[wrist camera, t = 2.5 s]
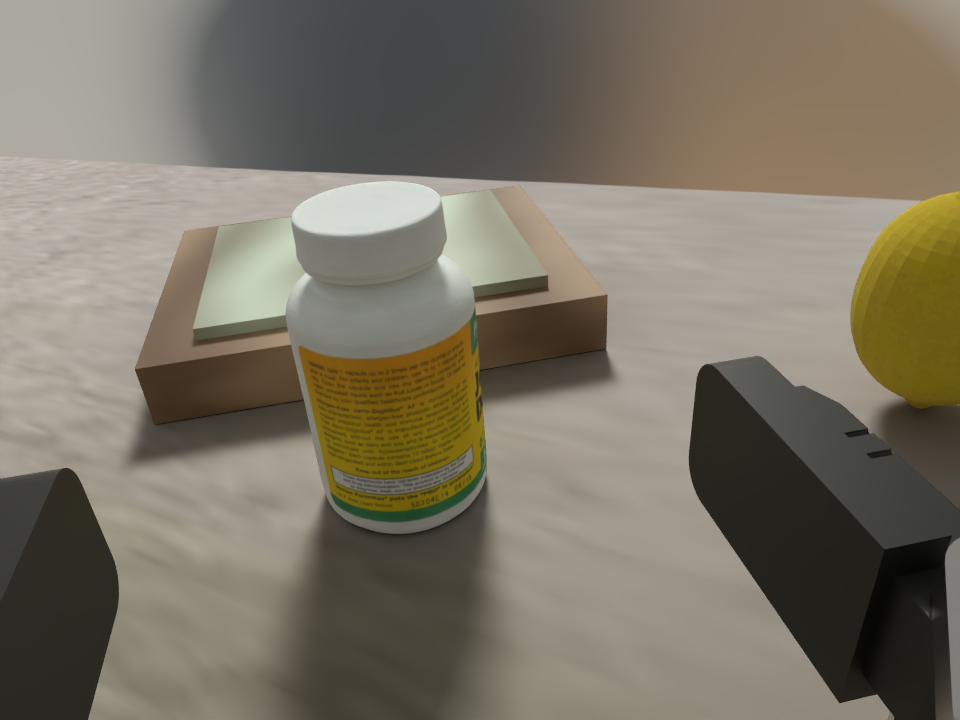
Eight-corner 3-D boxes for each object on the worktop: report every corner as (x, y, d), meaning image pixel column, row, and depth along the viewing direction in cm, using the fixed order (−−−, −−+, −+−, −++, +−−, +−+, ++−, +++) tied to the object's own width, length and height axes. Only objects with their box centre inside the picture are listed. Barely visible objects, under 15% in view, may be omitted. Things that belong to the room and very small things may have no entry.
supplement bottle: (306, 465, 26) (242, 198, 21) (446, 415, 28) (417, 160, 23) (359, 567, 22) (294, 264, 17) (519, 500, 24) (503, 211, 19)
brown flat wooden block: (522, 228, 43) (520, 176, 41) (606, 348, 31) (607, 283, 30) (197, 274, 41) (181, 221, 39) (155, 424, 29) (130, 357, 27)
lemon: (842, 444, 25) (895, 215, 21) (825, 358, 30) (865, 155, 25) (1034, 465, 24) (1134, 223, 19) (985, 370, 28) (1057, 157, 24)
